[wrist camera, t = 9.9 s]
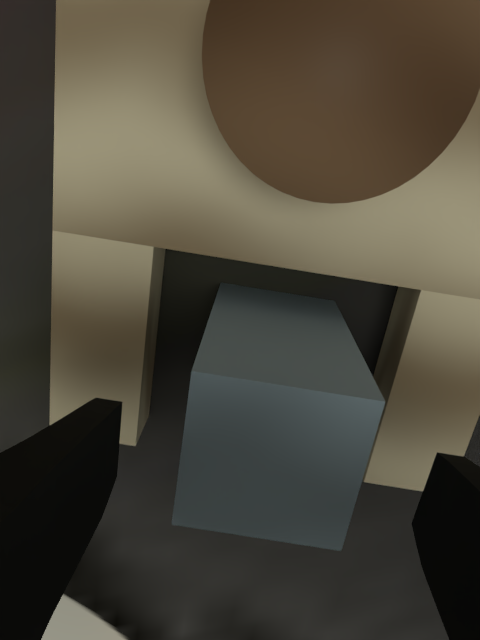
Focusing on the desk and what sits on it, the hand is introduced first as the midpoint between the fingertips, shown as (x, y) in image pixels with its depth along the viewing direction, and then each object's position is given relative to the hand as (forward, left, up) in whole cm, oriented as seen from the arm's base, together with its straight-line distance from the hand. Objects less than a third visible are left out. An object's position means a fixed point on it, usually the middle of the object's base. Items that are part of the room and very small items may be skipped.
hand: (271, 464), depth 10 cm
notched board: (+5, 0, -7) cm, 8 cm away
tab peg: (0, 0, -7) cm, 7 cm away
